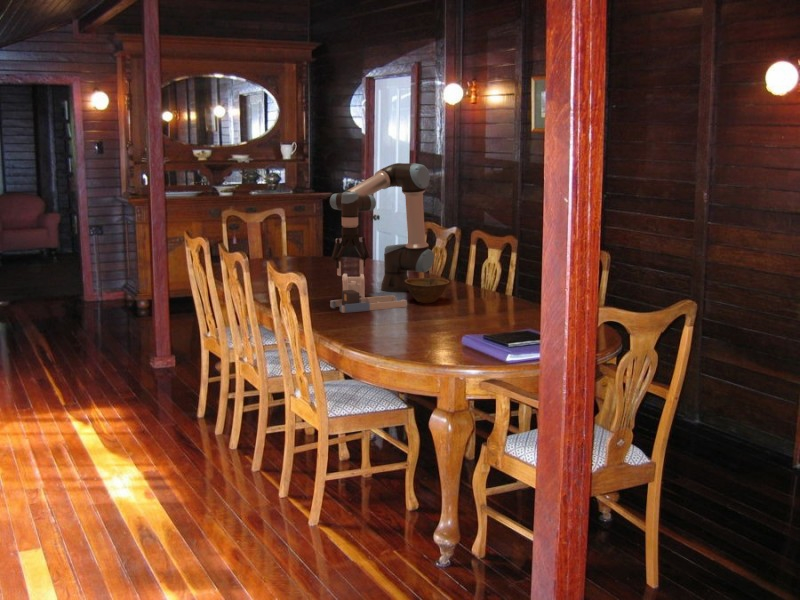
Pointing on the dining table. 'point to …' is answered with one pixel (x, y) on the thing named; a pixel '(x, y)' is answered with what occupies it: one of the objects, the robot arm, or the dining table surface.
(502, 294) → the dining table surface
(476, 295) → the dining table surface
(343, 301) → the dark brown block
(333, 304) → the slotted rail
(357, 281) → the cable organizer
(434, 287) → the bowl
